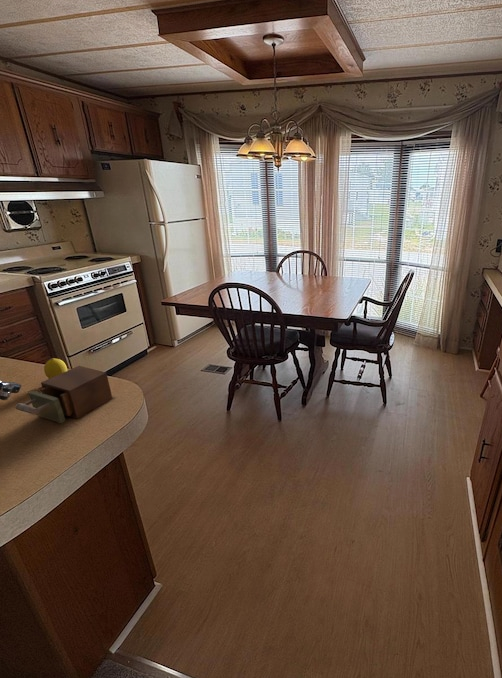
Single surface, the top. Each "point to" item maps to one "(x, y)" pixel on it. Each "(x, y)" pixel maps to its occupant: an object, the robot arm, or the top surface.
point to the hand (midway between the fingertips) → (17, 387)
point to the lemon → (54, 367)
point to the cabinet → (82, 388)
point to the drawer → (48, 404)
